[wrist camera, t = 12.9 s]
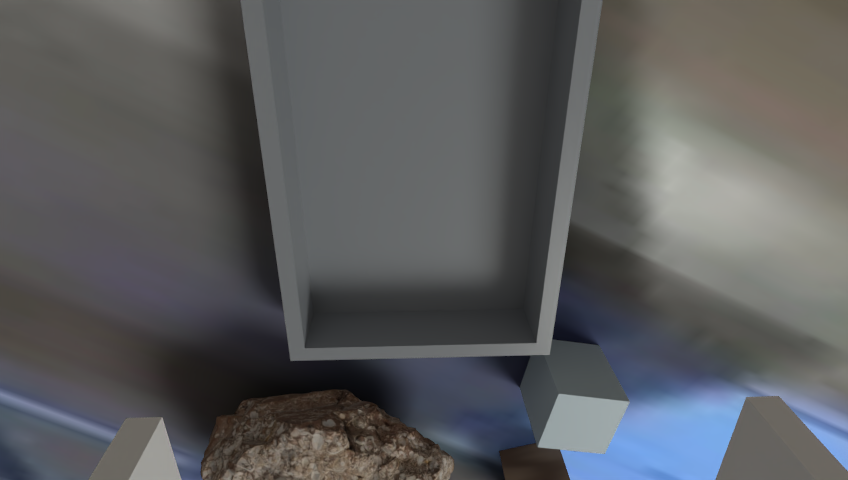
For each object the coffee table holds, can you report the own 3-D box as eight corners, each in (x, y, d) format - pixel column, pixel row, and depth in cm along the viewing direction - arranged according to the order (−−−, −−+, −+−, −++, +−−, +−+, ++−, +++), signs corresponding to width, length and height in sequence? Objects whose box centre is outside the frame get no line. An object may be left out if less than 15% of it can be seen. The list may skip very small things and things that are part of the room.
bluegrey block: (519, 386, 42) (537, 447, 36) (536, 337, 39) (558, 393, 34) (578, 393, 42) (604, 454, 37) (598, 344, 40) (629, 401, 35)
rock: (242, 511, 43) (194, 592, 33) (216, 390, 43) (161, 433, 33) (453, 462, 43) (469, 525, 34) (427, 342, 44) (436, 370, 34)
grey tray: (301, 319, 38) (290, 360, 34) (250, -109, 26) (223, -125, 22) (533, 315, 38) (549, 354, 34) (586, -104, 27) (619, -118, 23)
